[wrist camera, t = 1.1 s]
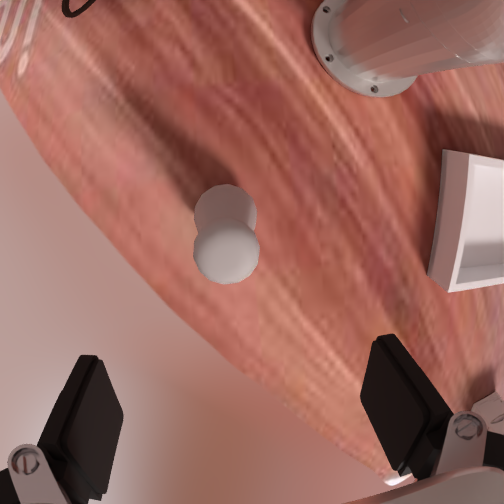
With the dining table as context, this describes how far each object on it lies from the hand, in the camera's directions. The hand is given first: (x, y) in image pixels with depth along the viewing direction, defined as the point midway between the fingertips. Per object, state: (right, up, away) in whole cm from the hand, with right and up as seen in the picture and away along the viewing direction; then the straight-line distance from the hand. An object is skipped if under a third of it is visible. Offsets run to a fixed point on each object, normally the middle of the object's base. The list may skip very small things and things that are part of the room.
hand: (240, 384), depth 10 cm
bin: (+33, +9, +25) cm, 42 cm away
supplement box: (+52, -31, +42) cm, 74 cm away
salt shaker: (-2, +9, +22) cm, 24 cm away
